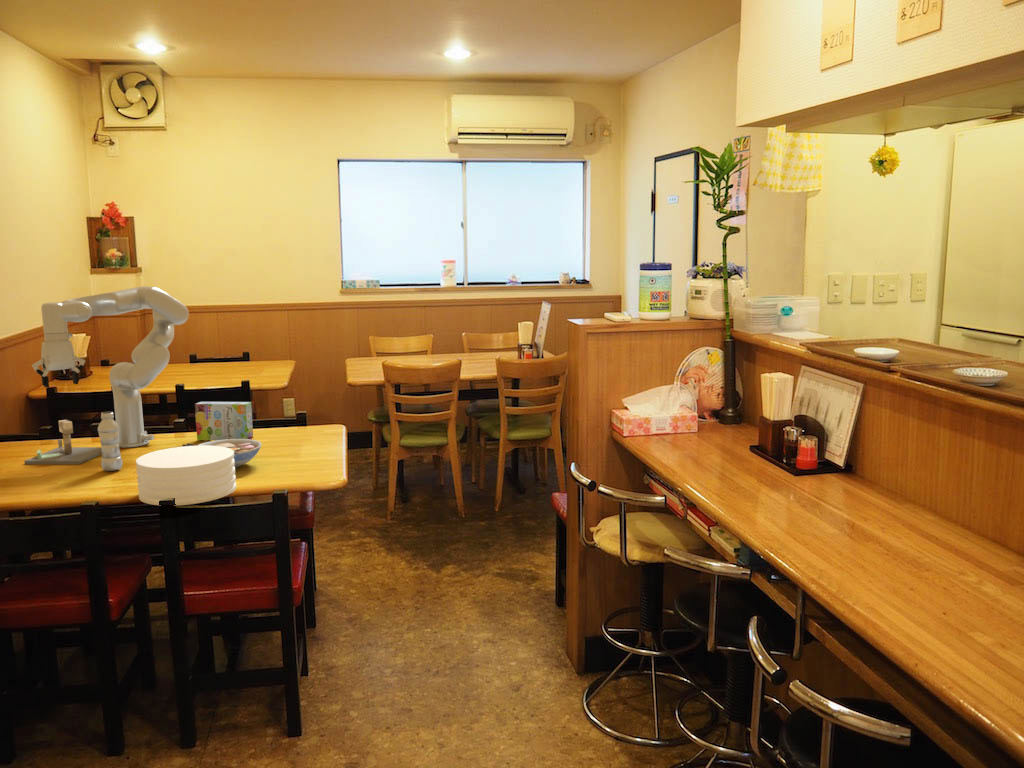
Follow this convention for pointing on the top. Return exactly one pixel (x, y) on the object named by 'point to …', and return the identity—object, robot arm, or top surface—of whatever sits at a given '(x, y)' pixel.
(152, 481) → the plate stack
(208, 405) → the snack box
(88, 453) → the dial board
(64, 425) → the dial handle
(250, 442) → the ramen bowl
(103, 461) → the plastic bottle
